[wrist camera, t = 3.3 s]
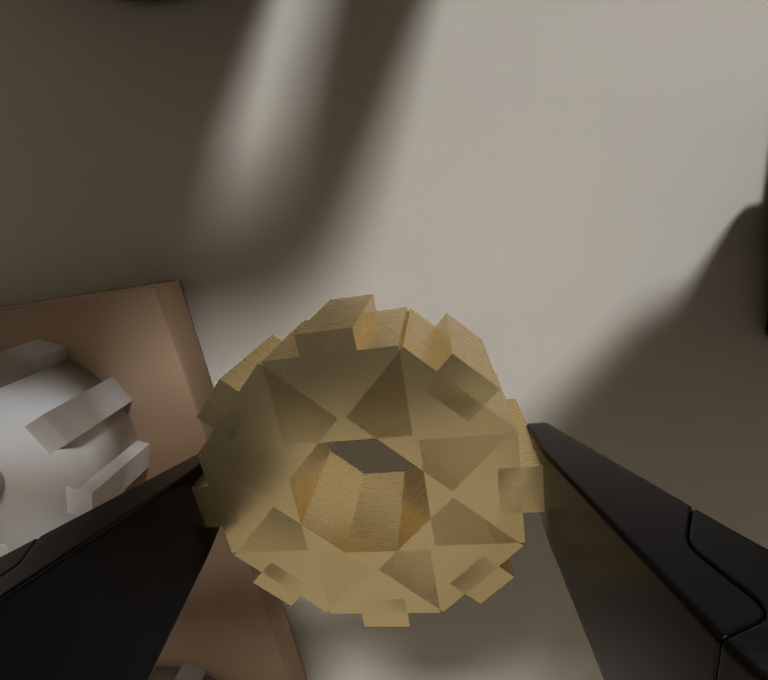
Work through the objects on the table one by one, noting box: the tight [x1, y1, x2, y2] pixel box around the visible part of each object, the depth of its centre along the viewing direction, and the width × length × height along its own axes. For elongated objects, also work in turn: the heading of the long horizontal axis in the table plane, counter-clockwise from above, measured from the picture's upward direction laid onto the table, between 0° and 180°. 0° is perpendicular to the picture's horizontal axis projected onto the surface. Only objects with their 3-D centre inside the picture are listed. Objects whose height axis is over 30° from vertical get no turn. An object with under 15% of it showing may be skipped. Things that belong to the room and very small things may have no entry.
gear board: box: [0, 280, 307, 680], centre depth 16 cm, size 24×11×4 cm, turn 9°
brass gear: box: [192, 294, 545, 627], centre depth 9 cm, size 7×7×2 cm
